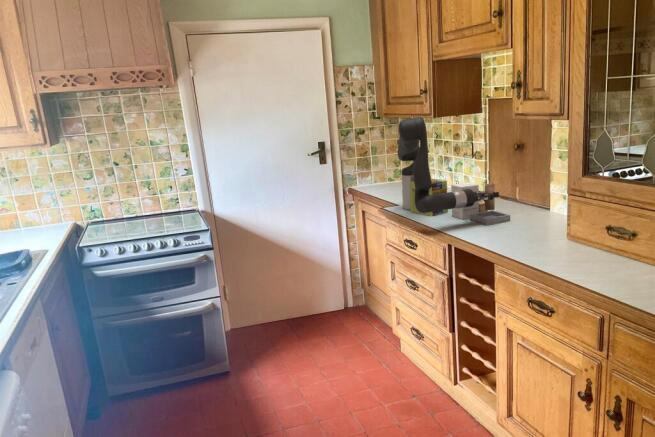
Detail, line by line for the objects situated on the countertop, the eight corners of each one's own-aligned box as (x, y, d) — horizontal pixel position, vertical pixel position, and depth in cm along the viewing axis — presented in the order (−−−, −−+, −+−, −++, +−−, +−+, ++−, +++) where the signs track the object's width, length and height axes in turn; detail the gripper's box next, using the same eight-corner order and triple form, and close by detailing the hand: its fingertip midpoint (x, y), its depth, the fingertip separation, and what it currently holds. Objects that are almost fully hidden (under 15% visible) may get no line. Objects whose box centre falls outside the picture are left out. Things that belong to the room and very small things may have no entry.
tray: (470, 219, 230) (469, 214, 229) (492, 215, 234) (492, 210, 233) (486, 225, 219) (486, 219, 218) (510, 220, 223) (510, 215, 222)
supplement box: (451, 216, 240) (450, 184, 236) (468, 213, 242) (467, 181, 239) (462, 219, 231) (461, 186, 228) (479, 217, 234) (479, 184, 230)
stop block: (467, 213, 243) (467, 200, 241) (474, 211, 244) (474, 199, 242) (480, 217, 233) (480, 204, 232) (487, 215, 235) (487, 202, 233)
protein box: (432, 216, 242) (431, 183, 239) (410, 212, 255) (408, 180, 251) (448, 212, 248) (447, 180, 244) (425, 208, 260) (424, 177, 257)
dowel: (483, 209, 226) (482, 184, 224) (490, 207, 227) (490, 183, 225) (488, 210, 222) (488, 185, 220) (496, 209, 224) (496, 184, 221)
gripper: (470, 192, 212) (505, 187, 217) (451, 188, 225) (484, 183, 230) (471, 210, 213) (505, 204, 219) (451, 205, 226) (485, 199, 232)
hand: (494, 193), depth 224 cm, fingers closed on dowel, 4 cm apart
